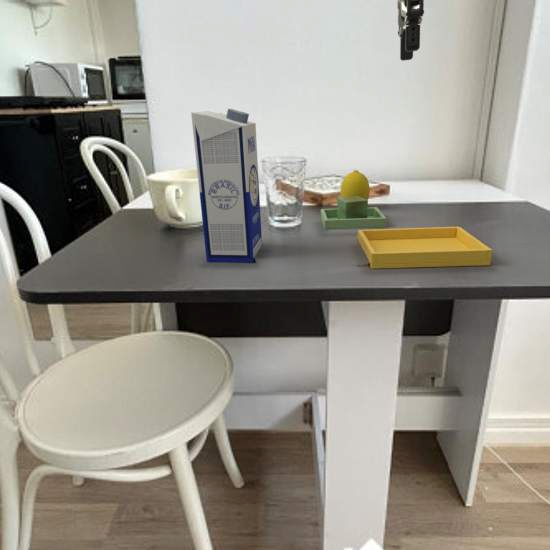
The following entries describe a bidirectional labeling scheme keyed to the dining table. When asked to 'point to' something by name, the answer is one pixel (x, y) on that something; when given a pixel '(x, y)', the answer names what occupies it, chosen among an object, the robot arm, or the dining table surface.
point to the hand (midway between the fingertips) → (409, 55)
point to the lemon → (355, 185)
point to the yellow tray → (422, 248)
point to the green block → (352, 207)
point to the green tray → (353, 220)
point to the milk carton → (228, 185)
